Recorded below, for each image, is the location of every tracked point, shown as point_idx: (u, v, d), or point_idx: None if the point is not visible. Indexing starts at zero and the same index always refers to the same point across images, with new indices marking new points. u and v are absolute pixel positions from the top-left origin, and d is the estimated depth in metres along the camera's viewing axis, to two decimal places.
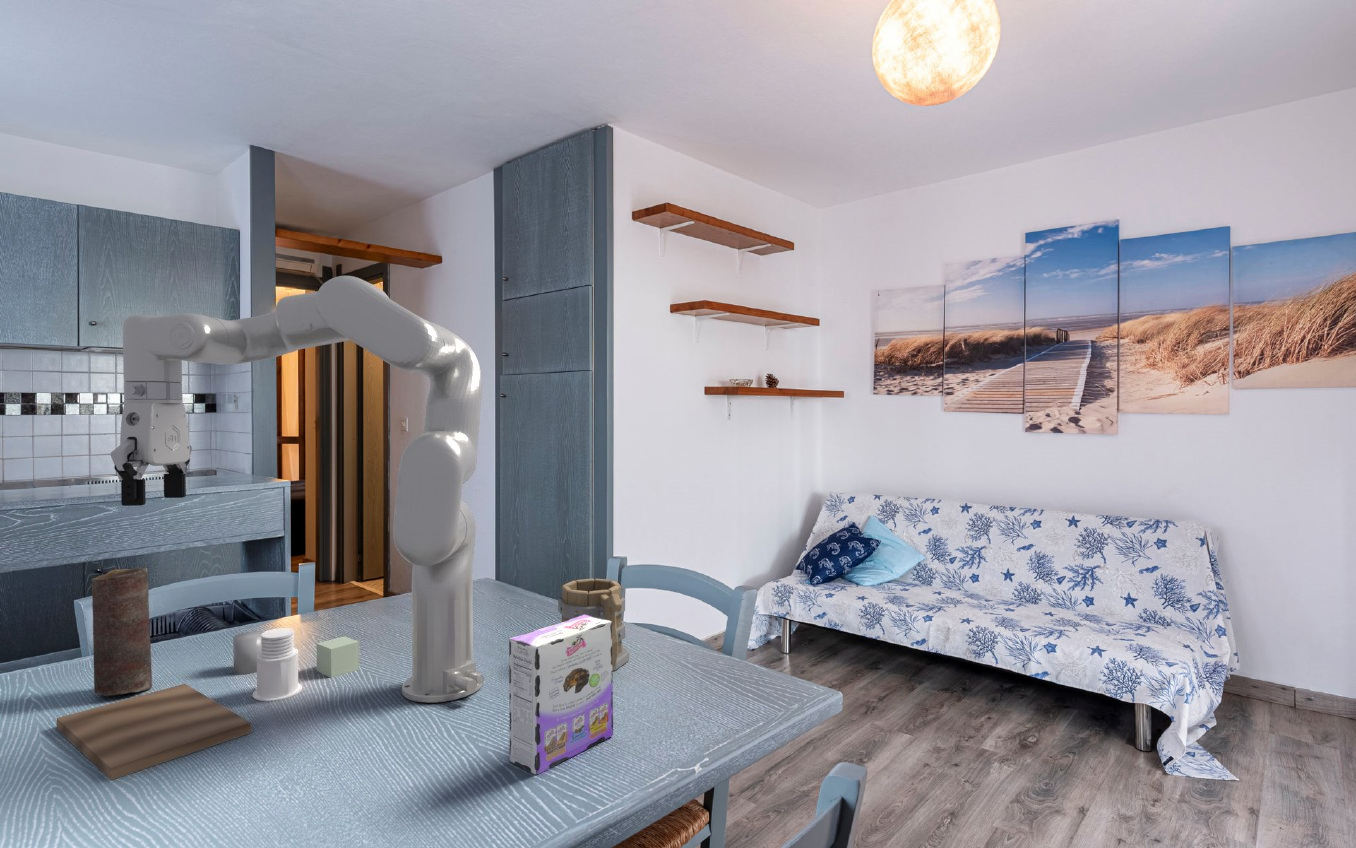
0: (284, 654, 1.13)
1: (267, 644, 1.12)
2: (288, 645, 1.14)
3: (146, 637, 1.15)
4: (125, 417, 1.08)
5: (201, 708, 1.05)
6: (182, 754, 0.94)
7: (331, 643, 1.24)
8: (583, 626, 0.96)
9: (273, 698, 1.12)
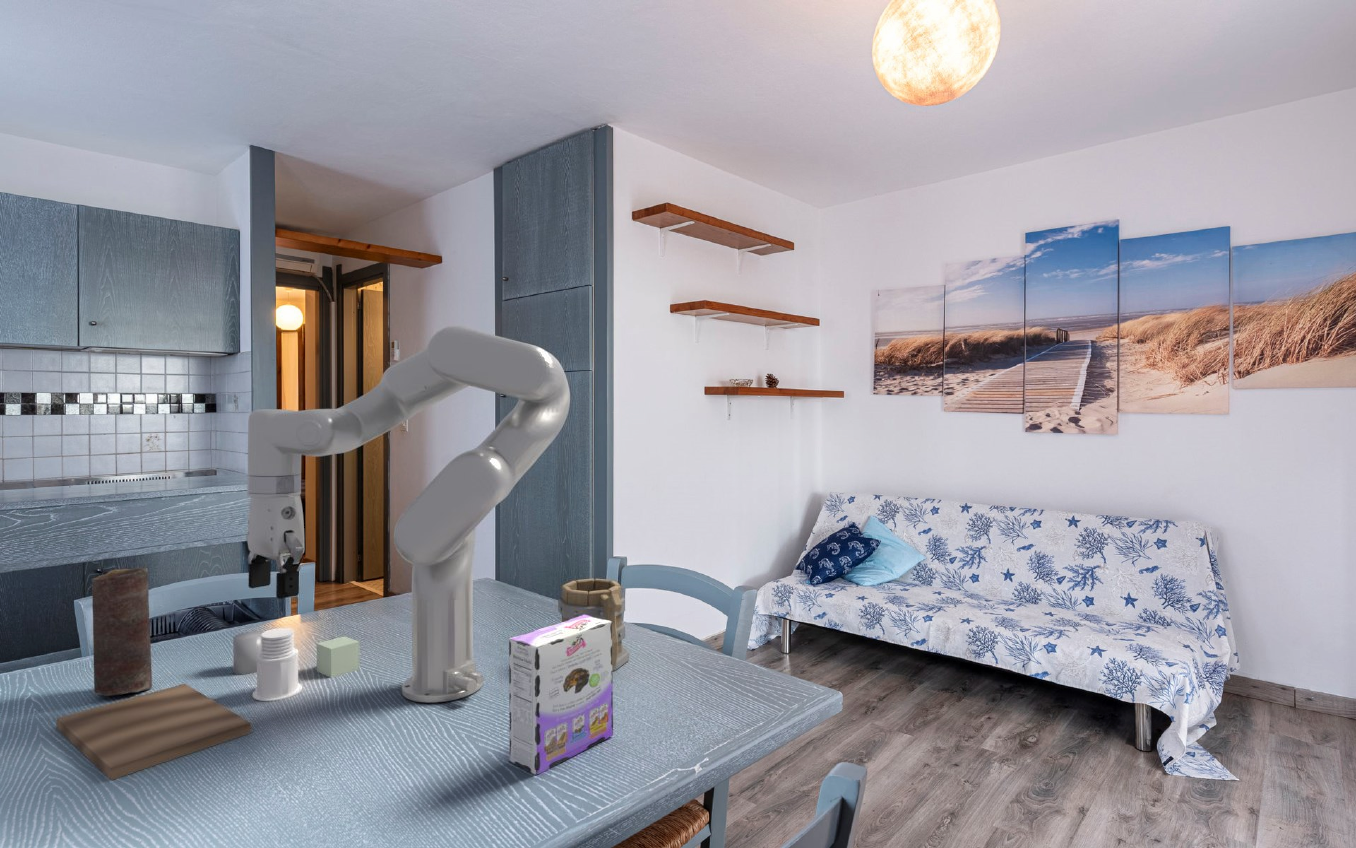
0: (284, 654, 1.13)
1: (267, 644, 1.12)
2: (288, 645, 1.14)
3: (146, 637, 1.15)
4: (280, 512, 1.11)
5: (201, 708, 1.05)
6: (182, 754, 0.94)
7: (332, 643, 1.24)
8: (583, 626, 0.96)
9: (273, 698, 1.12)
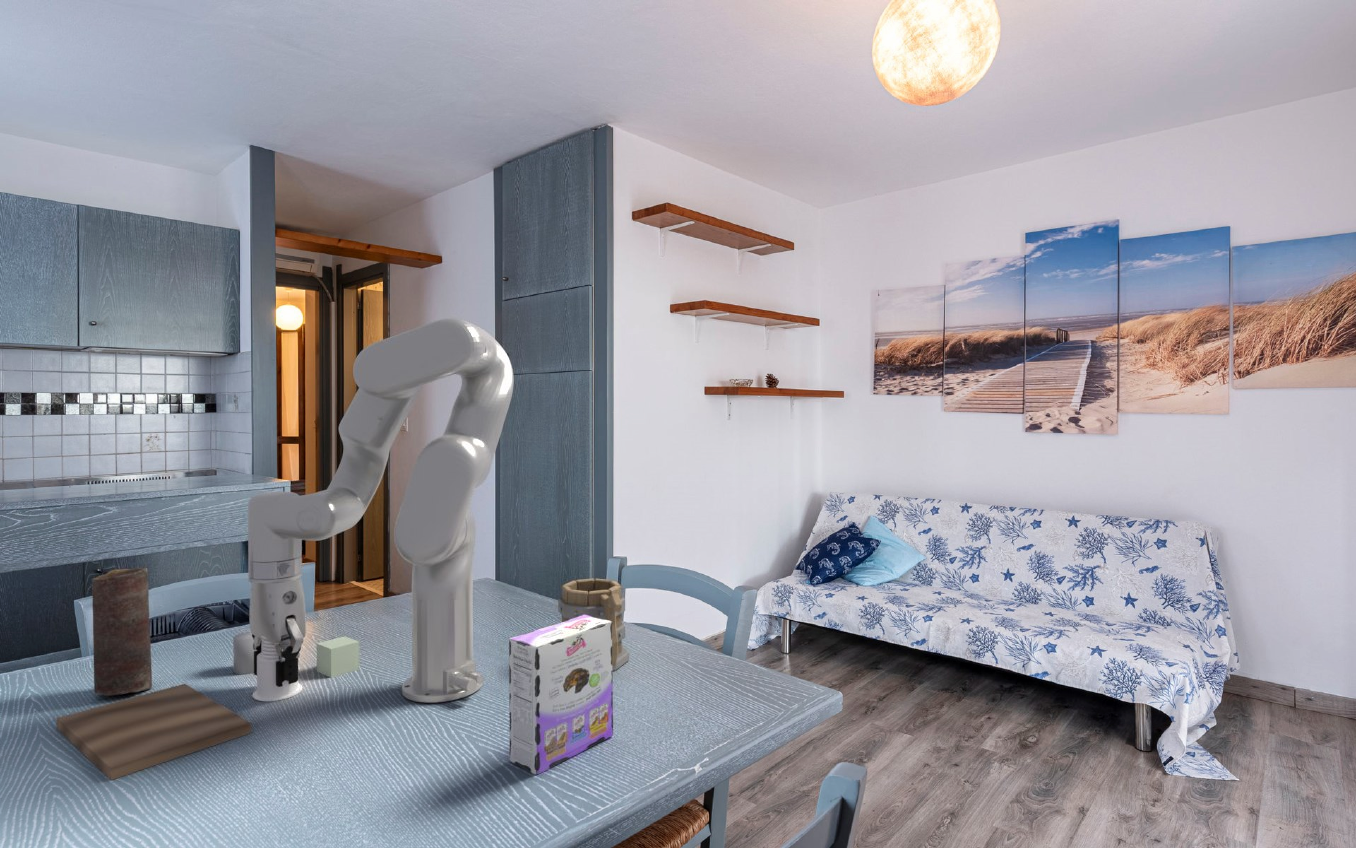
0: None
1: (267, 644, 1.12)
2: (288, 645, 1.14)
3: (146, 637, 1.15)
4: (281, 597, 1.11)
5: (201, 708, 1.05)
6: (182, 754, 0.94)
7: (331, 643, 1.24)
8: (583, 626, 0.96)
9: (273, 698, 1.12)
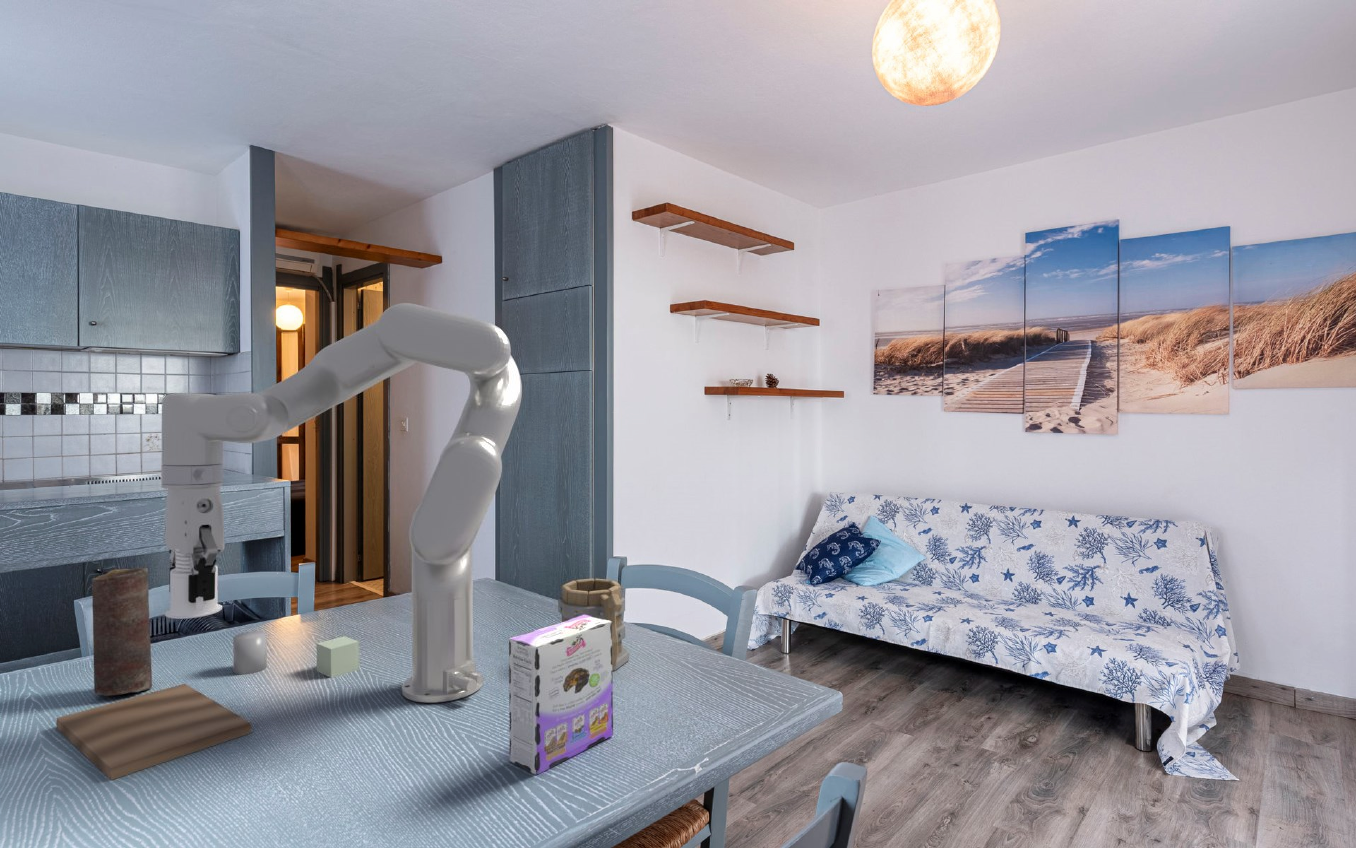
0: None
1: (181, 557, 1.03)
2: None
3: (146, 637, 1.15)
4: (194, 504, 1.01)
5: (201, 708, 1.05)
6: (182, 754, 0.94)
7: (331, 643, 1.24)
8: (583, 626, 0.96)
9: (186, 616, 1.02)
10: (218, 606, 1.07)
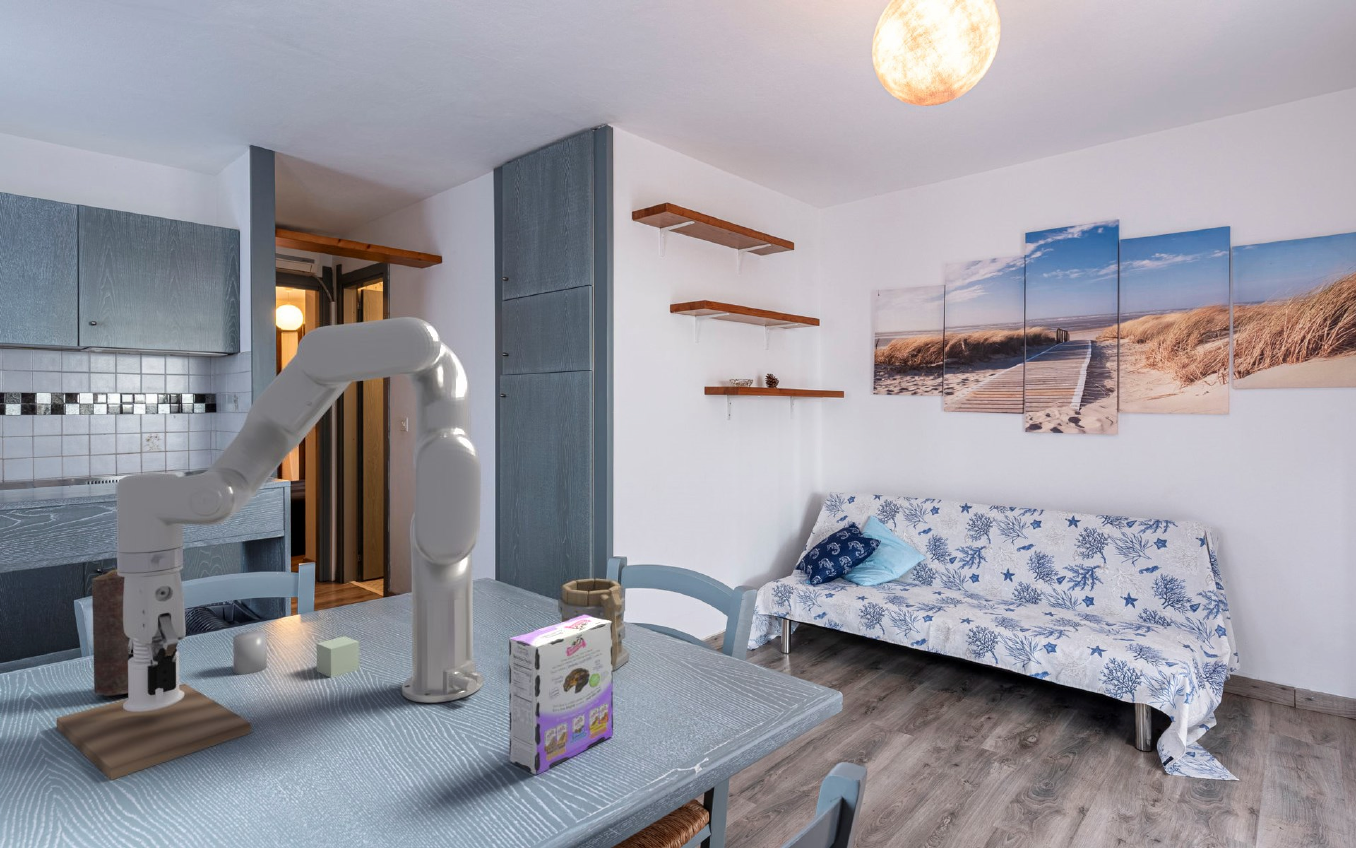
0: None
1: (139, 646, 0.99)
2: None
3: None
4: (153, 593, 0.97)
5: (201, 708, 1.05)
6: (182, 754, 0.94)
7: (331, 643, 1.24)
8: (583, 626, 0.96)
9: (146, 708, 0.98)
10: (180, 693, 1.03)
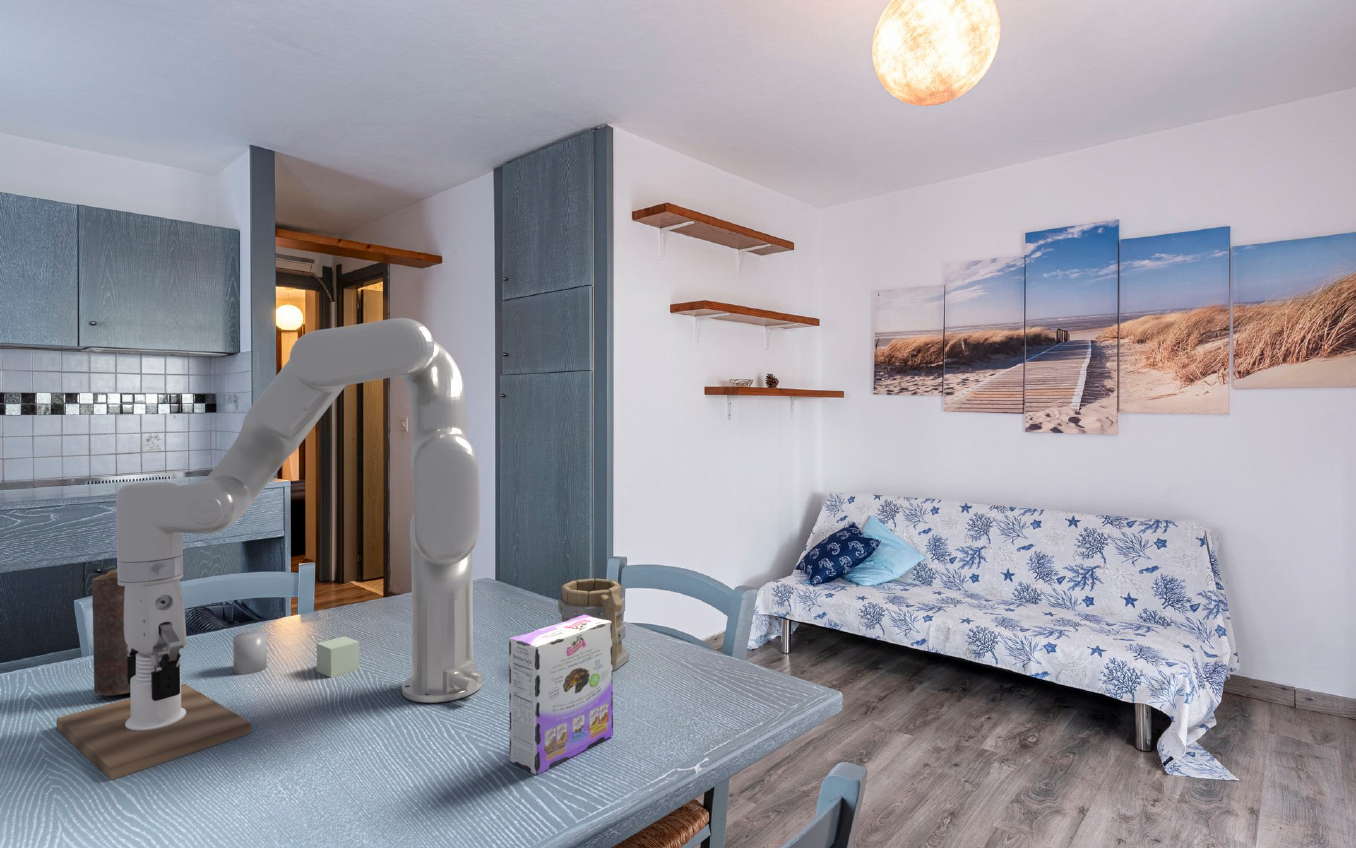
0: None
1: (141, 665, 0.99)
2: None
3: None
4: (153, 602, 0.97)
5: (201, 708, 1.05)
6: (182, 754, 0.94)
7: (332, 643, 1.24)
8: (583, 626, 0.96)
9: (148, 727, 0.98)
10: (182, 711, 1.03)
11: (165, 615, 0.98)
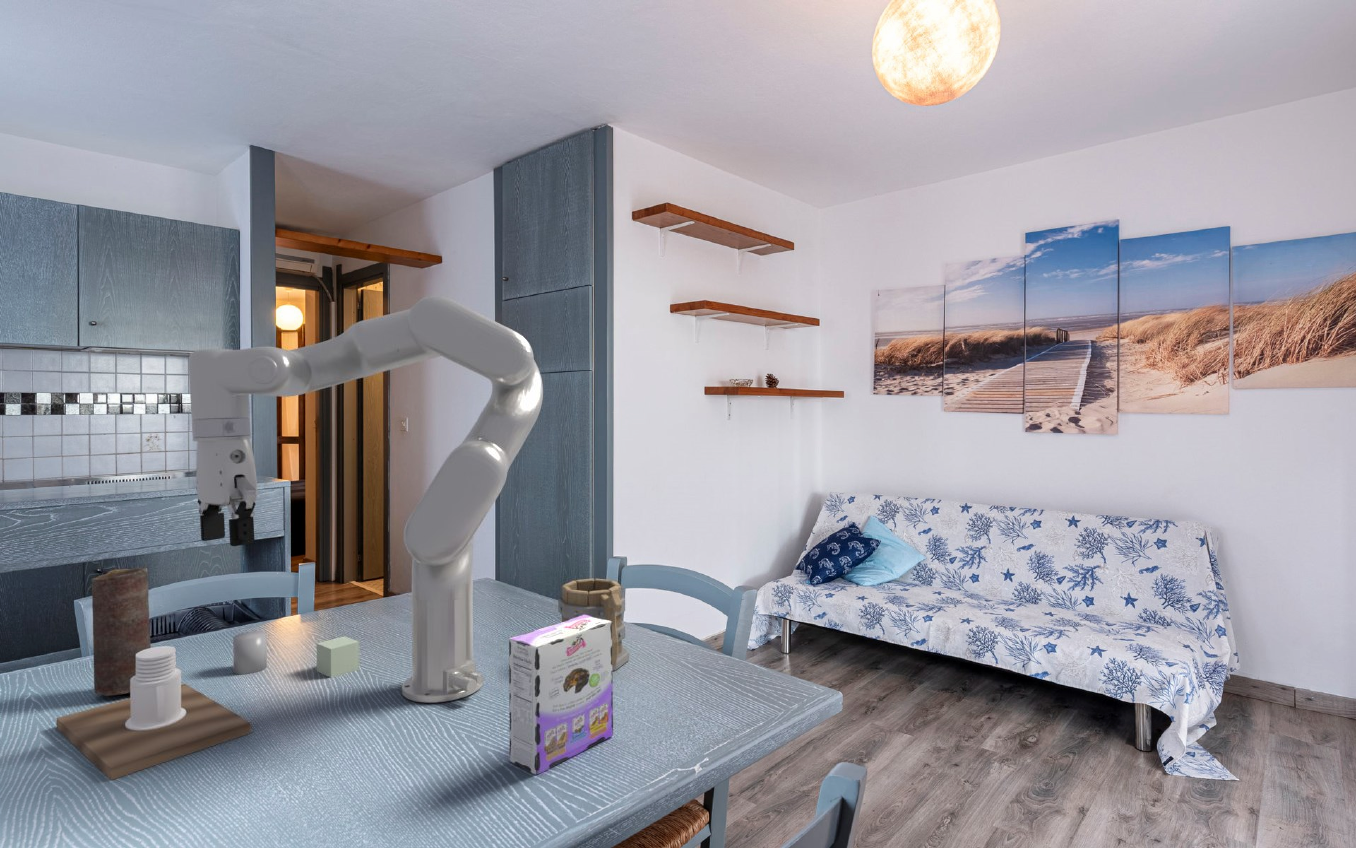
0: (162, 676, 1.00)
1: (141, 665, 0.99)
2: (167, 666, 1.00)
3: (146, 637, 1.15)
4: (228, 455, 1.05)
5: (201, 708, 1.05)
6: (182, 754, 0.94)
7: (331, 643, 1.24)
8: (583, 626, 0.96)
9: (147, 727, 0.98)
10: (182, 711, 1.03)
11: (239, 468, 1.06)
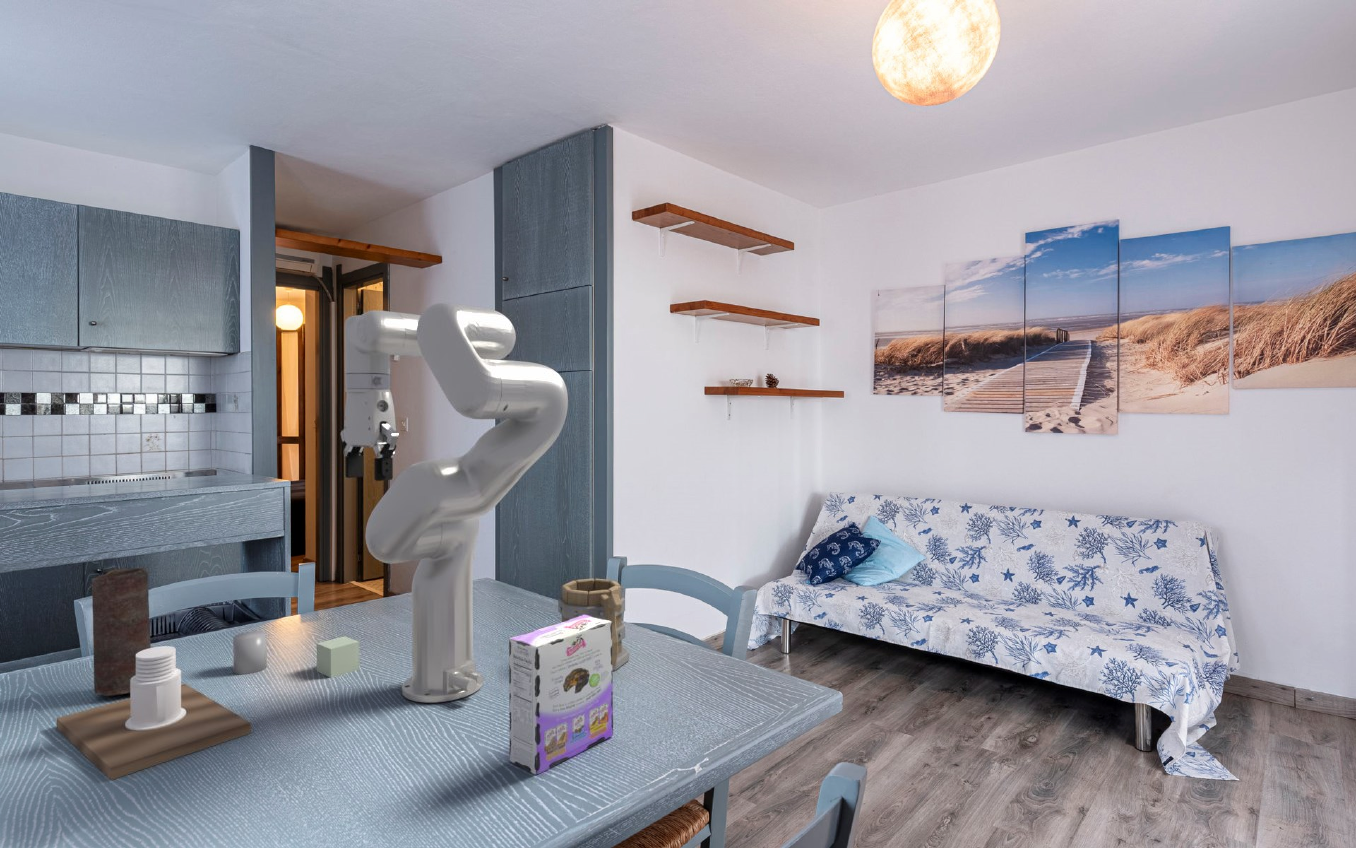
0: (162, 676, 1.00)
1: (141, 665, 0.99)
2: (167, 666, 1.00)
3: (146, 637, 1.15)
4: (375, 404, 1.25)
5: (201, 708, 1.05)
6: (182, 754, 0.94)
7: (331, 643, 1.24)
8: (583, 626, 0.96)
9: (147, 727, 0.98)
10: (182, 711, 1.03)
11: (383, 415, 1.26)
